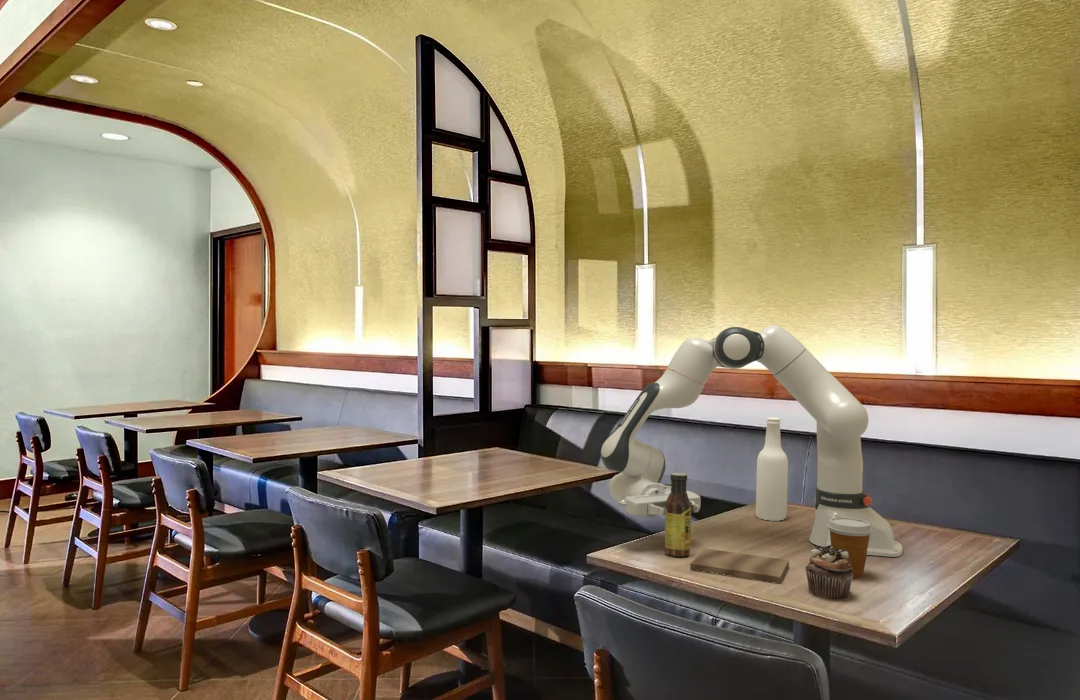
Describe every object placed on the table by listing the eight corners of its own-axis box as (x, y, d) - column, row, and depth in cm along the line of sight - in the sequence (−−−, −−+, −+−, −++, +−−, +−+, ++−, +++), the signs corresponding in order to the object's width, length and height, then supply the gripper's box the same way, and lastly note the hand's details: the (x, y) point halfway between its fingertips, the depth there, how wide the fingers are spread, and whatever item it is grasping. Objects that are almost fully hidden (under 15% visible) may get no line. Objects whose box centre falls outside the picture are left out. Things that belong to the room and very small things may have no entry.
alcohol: (773, 513, 232) (775, 415, 232) (792, 520, 224) (795, 419, 223) (749, 515, 229) (752, 416, 228) (768, 522, 221) (771, 419, 220)
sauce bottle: (690, 559, 184) (692, 477, 184) (664, 556, 185) (665, 475, 185) (690, 551, 191) (692, 472, 190) (665, 549, 192) (666, 471, 191)
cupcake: (862, 595, 161) (863, 548, 160) (835, 604, 155) (836, 555, 155) (822, 582, 168) (823, 537, 168) (795, 590, 163) (796, 544, 163)
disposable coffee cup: (879, 579, 171) (881, 526, 171) (840, 581, 169) (842, 527, 169) (855, 566, 180) (856, 516, 180) (818, 568, 179) (819, 517, 179)
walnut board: (788, 566, 180) (788, 560, 180) (780, 583, 167) (780, 577, 167) (704, 554, 188) (704, 548, 188) (690, 570, 175) (690, 563, 175)
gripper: (615, 489, 195) (644, 501, 182) (681, 484, 204) (714, 494, 191) (615, 514, 195) (644, 527, 183) (681, 507, 204) (713, 519, 191)
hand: (680, 510), depth 187 cm, fingers open, 8 cm apart
